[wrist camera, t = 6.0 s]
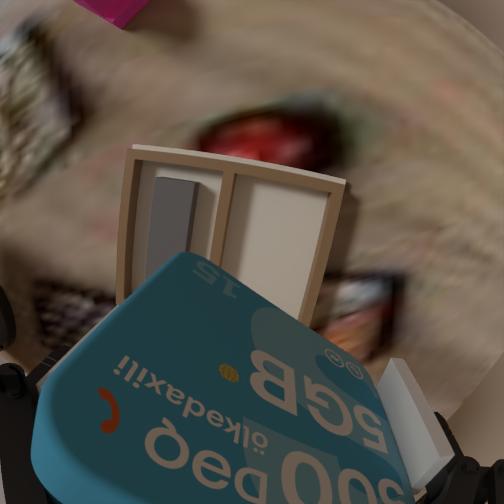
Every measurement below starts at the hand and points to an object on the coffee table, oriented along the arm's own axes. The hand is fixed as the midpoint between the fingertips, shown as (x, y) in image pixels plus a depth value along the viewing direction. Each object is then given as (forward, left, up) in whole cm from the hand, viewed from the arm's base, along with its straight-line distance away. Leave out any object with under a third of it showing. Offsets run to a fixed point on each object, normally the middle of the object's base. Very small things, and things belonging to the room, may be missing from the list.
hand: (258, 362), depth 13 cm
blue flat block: (0, 0, -2) cm, 2 cm away
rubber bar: (-10, 0, -18) cm, 20 cm away
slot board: (-5, 0, -19) cm, 19 cm away
